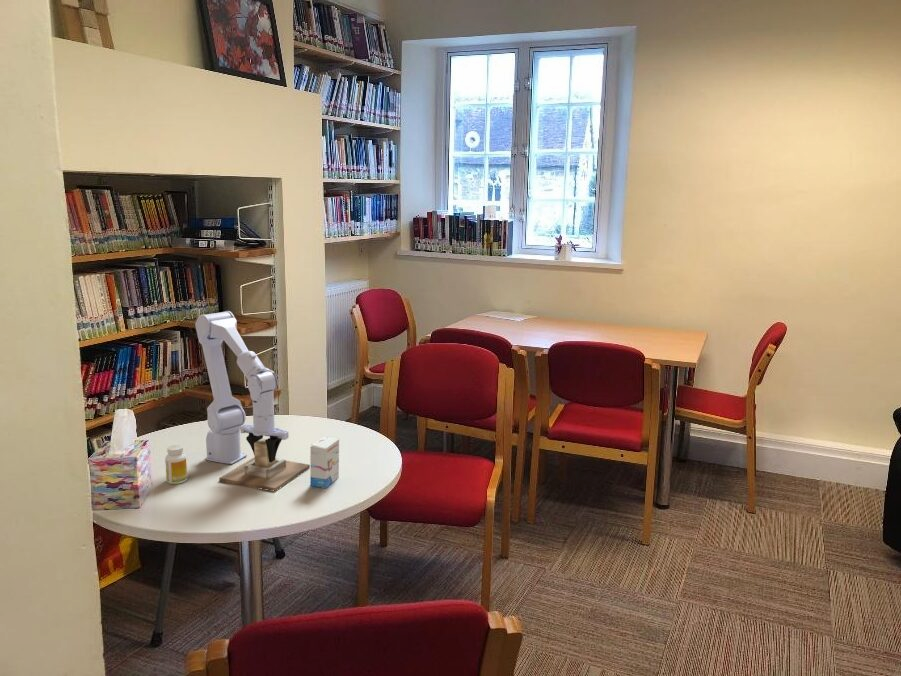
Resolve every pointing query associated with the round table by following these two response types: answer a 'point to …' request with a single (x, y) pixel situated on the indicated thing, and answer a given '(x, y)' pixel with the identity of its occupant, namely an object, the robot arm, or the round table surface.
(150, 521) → the round table surface
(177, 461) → the supplement bottle
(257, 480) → the well stand
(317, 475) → the ink box
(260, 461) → the maple post
